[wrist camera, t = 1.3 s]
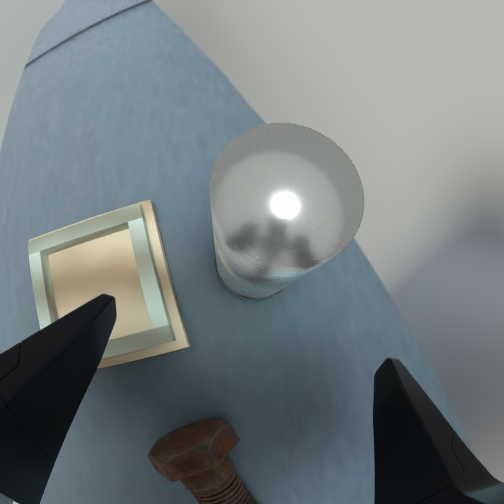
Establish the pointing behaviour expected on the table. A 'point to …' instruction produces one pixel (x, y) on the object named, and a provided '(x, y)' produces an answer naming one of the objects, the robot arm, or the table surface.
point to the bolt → (202, 461)
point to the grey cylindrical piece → (280, 207)
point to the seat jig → (111, 280)
